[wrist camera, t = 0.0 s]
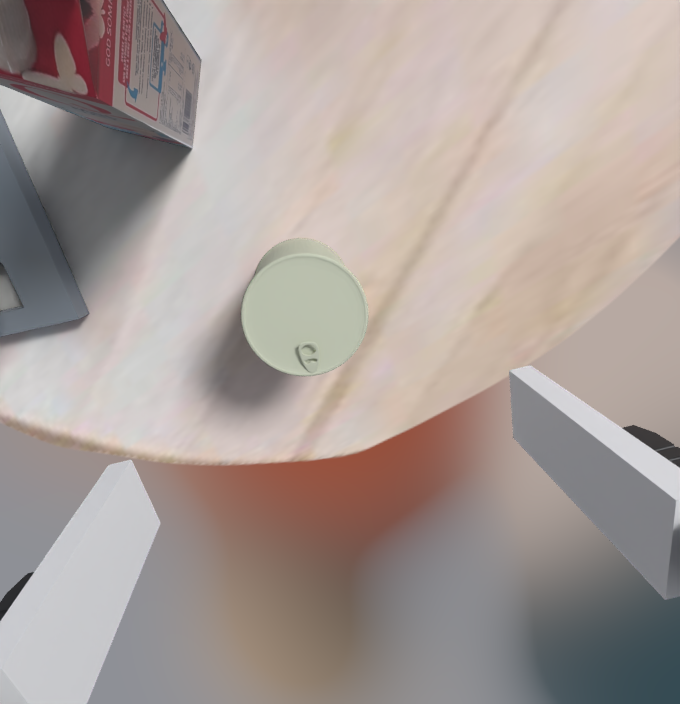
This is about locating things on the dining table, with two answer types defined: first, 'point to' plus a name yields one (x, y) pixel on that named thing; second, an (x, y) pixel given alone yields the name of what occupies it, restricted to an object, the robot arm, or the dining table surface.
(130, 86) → the juice carton
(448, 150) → the dining table surface
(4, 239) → the button board
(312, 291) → the can
